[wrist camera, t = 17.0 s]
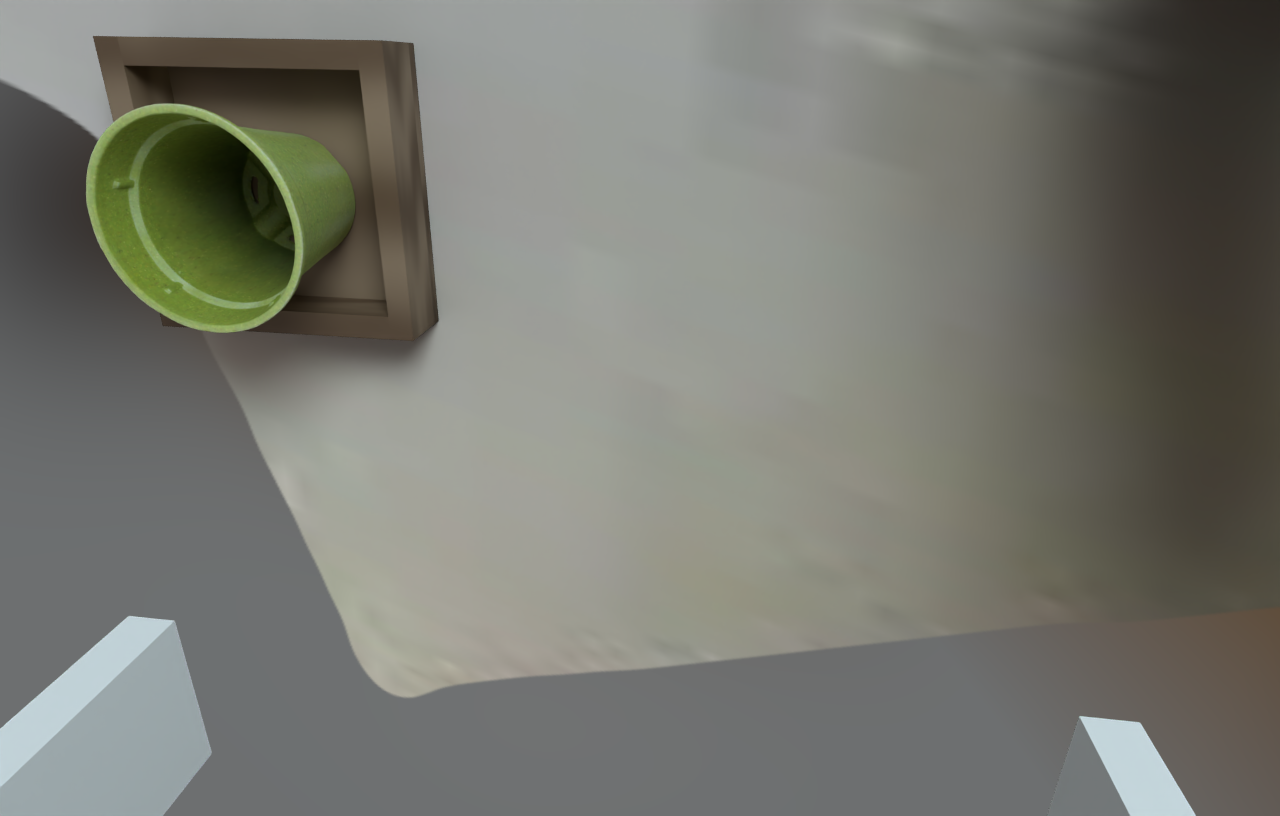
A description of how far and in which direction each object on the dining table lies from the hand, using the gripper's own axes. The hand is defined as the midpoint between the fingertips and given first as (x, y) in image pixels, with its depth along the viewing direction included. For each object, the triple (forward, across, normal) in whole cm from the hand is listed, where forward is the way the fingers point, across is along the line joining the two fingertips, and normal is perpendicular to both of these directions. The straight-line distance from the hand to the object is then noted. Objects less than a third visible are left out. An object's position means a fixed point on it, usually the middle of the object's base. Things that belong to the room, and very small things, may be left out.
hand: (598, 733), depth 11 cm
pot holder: (+31, -21, +3) cm, 37 cm away
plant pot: (+30, -21, +3) cm, 37 cm away
